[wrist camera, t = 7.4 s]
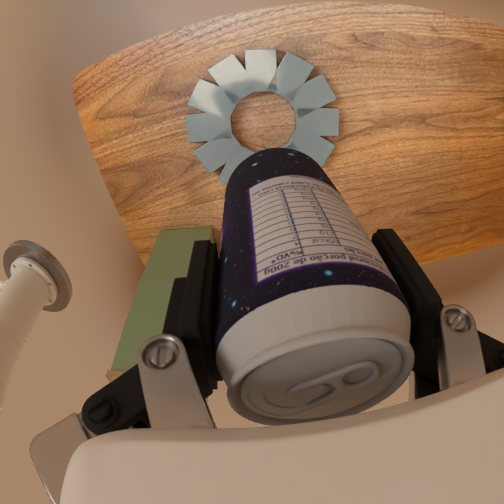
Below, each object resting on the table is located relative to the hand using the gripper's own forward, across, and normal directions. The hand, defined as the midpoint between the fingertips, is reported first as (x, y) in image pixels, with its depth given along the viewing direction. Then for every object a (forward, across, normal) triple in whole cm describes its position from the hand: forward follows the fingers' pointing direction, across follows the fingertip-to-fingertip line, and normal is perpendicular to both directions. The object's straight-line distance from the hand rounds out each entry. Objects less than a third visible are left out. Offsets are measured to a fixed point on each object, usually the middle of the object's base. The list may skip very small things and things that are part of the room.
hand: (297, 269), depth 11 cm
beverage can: (+7, 0, 0) cm, 7 cm away
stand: (+27, +11, +18) cm, 34 cm away
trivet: (+27, -1, 0) cm, 27 cm away
